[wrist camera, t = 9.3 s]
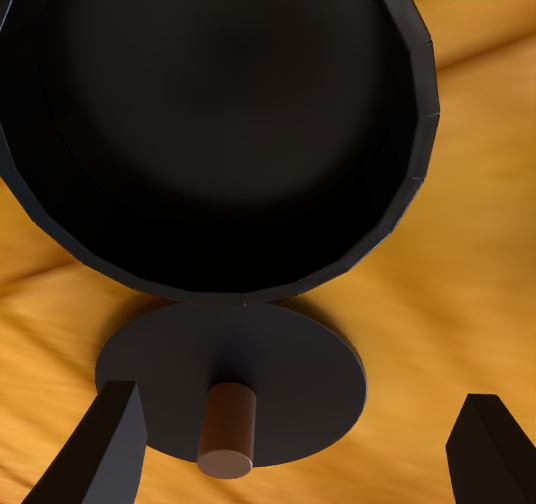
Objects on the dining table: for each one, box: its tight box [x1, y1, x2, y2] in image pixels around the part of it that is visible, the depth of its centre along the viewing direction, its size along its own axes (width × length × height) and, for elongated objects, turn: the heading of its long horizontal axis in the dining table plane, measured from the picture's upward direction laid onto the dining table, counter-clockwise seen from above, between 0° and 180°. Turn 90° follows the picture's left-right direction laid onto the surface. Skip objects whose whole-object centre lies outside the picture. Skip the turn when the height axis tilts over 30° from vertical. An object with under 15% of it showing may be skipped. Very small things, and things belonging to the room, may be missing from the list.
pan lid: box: [95, 298, 367, 479], centre depth 24 cm, size 13×13×5 cm
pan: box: [0, 0, 440, 306], centre depth 15 cm, size 12×12×4 cm
